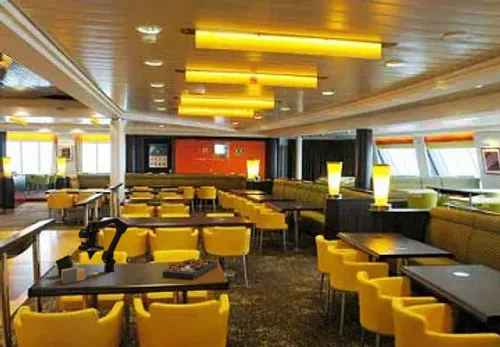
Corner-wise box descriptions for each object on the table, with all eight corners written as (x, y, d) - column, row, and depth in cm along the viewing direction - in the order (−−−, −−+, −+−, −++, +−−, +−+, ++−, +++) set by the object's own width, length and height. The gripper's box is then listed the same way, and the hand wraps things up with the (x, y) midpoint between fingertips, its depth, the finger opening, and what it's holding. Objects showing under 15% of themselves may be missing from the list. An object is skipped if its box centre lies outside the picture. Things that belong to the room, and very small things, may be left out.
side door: (75, 280, 347) (75, 264, 347) (77, 281, 345) (77, 264, 345) (61, 283, 338) (61, 266, 337) (64, 284, 336) (64, 267, 336)
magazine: (75, 274, 361) (67, 255, 361) (60, 281, 363) (52, 262, 364) (78, 273, 364) (70, 254, 365) (63, 280, 367) (55, 261, 368)
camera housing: (76, 277, 359) (76, 266, 358) (85, 279, 353) (85, 268, 353) (60, 280, 348) (59, 270, 347) (69, 282, 342) (69, 272, 342)
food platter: (193, 280, 353) (193, 265, 353) (162, 277, 361) (162, 263, 361) (217, 267, 396) (217, 254, 396) (189, 265, 404) (189, 252, 403)
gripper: (96, 236, 378) (93, 257, 377) (74, 236, 363) (72, 258, 362) (105, 238, 371) (103, 259, 370) (84, 239, 356) (81, 260, 355)
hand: (89, 259), depth 365 cm, fingers closed
